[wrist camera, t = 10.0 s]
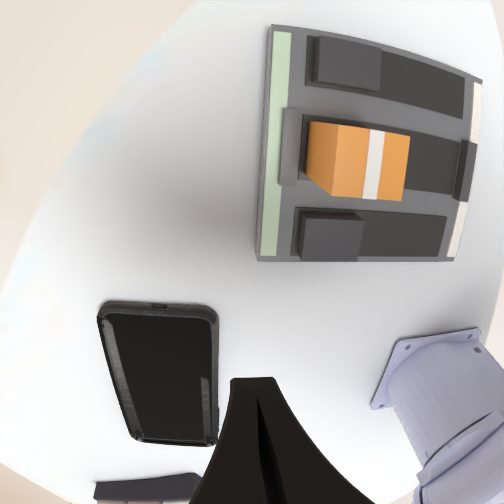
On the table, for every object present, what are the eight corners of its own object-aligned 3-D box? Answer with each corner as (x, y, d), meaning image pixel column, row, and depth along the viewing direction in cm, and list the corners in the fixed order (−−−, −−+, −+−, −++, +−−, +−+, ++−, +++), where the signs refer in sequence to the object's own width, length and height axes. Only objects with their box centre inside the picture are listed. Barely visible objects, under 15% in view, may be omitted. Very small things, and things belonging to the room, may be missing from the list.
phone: (132, 441, 24) (93, 306, 18) (134, 431, 25) (99, 296, 19) (219, 447, 25) (221, 313, 19) (218, 437, 26) (221, 303, 20)
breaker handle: (367, 128, 14) (411, 136, 11) (361, 179, 15) (402, 201, 12) (309, 121, 14) (339, 124, 10) (304, 174, 15) (332, 196, 11)
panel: (470, 79, 15) (495, 80, 12) (443, 253, 19) (463, 269, 17) (268, 30, 13) (275, 17, 11) (255, 252, 18) (260, 272, 16)
